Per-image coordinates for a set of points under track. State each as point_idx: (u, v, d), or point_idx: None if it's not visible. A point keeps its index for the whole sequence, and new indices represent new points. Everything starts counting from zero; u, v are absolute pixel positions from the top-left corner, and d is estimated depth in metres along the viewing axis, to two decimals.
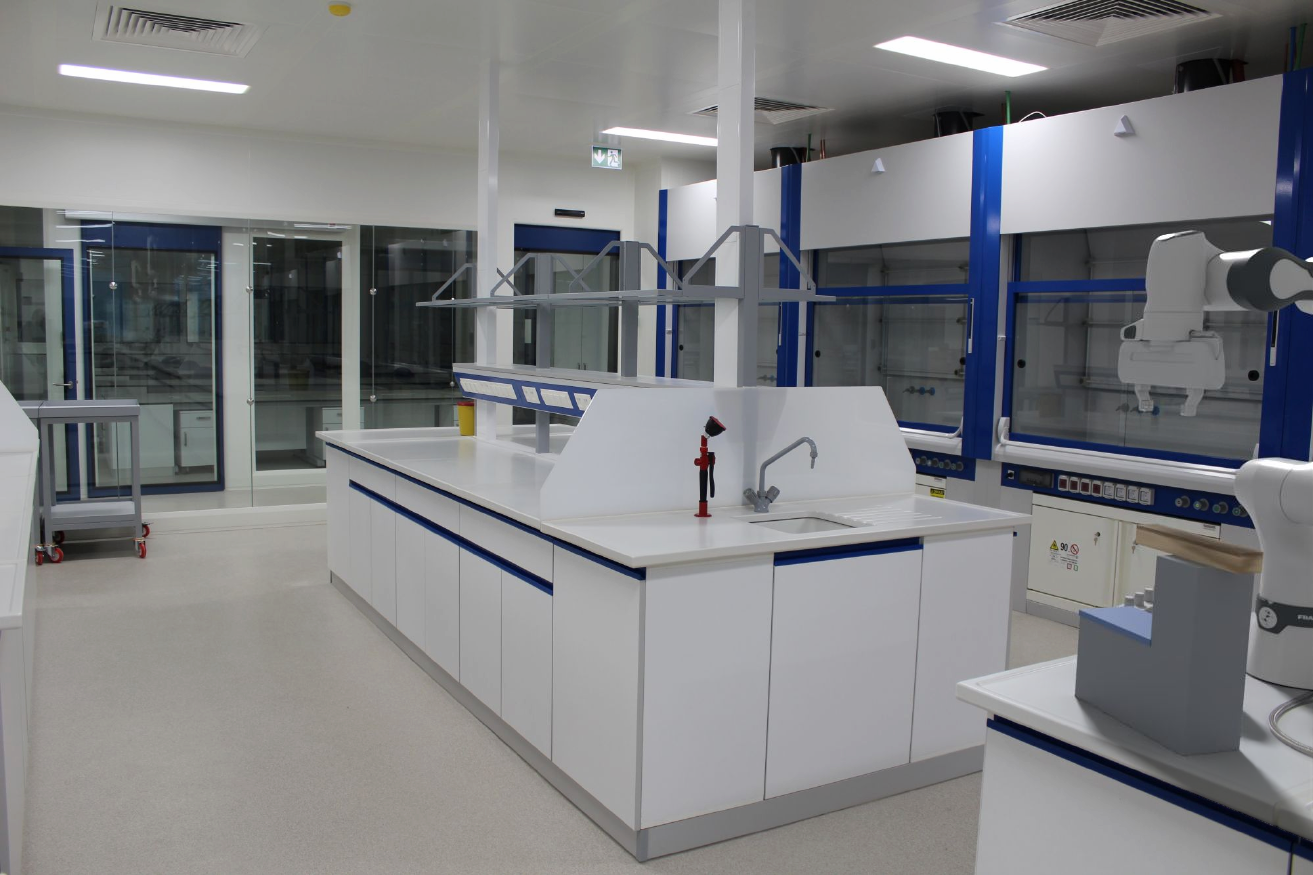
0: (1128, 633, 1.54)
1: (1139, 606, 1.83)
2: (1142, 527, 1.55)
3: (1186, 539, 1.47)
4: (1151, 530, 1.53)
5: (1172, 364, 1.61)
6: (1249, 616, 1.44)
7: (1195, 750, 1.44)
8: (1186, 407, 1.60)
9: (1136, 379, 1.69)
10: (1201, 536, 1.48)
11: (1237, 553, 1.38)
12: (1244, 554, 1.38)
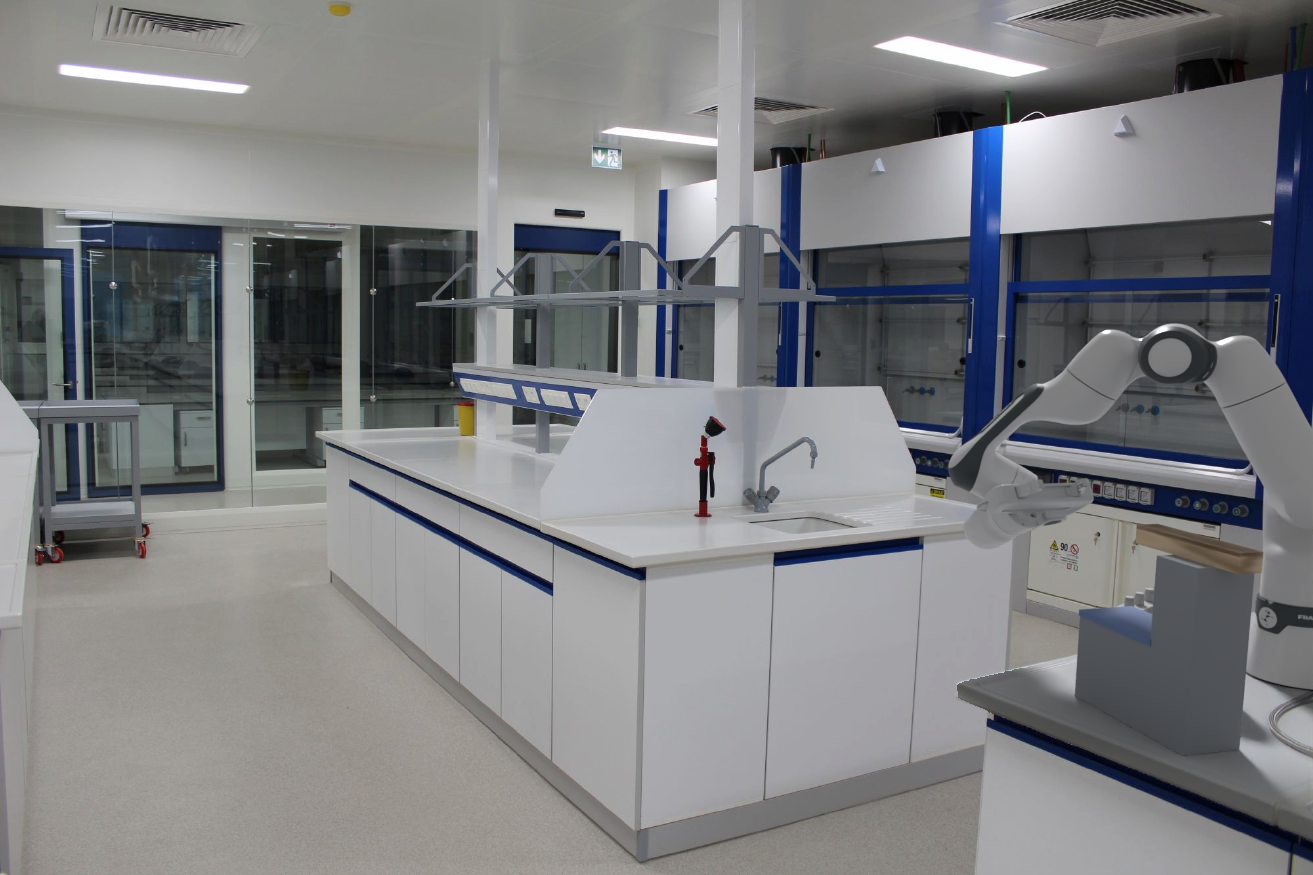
0: (1128, 633, 1.54)
1: (1139, 606, 1.83)
2: (1142, 527, 1.55)
3: (1186, 539, 1.47)
4: (1151, 530, 1.53)
5: (1026, 507, 1.83)
6: (1249, 616, 1.44)
7: (1195, 750, 1.44)
8: (1034, 491, 1.76)
9: (1073, 501, 1.82)
10: (1201, 536, 1.48)
11: (1237, 553, 1.38)
12: (1244, 554, 1.38)
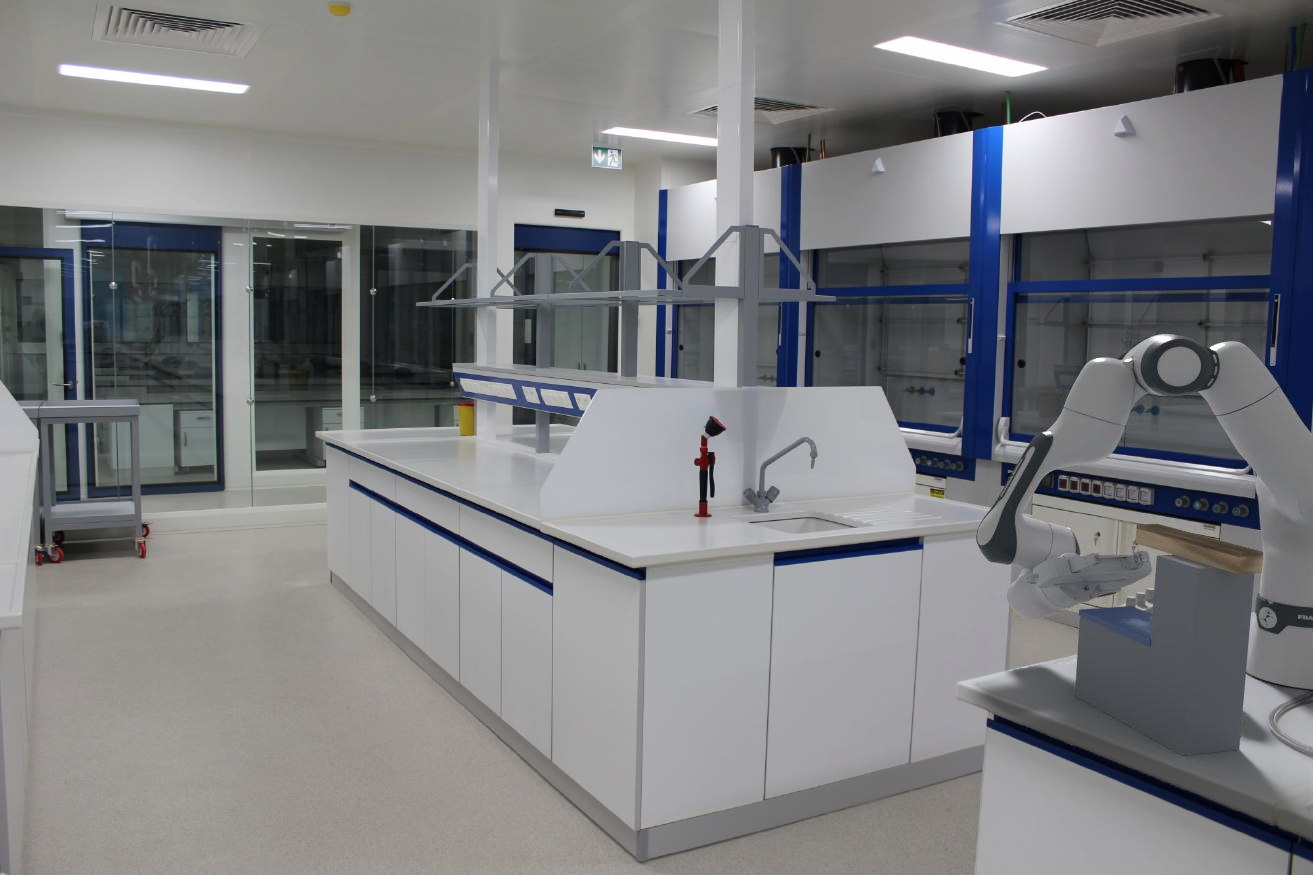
0: (1128, 633, 1.54)
1: (1141, 606, 1.83)
2: (1142, 527, 1.55)
3: (1186, 539, 1.47)
4: (1151, 530, 1.53)
5: (1080, 581, 1.69)
6: (1249, 616, 1.44)
7: (1195, 750, 1.44)
8: (1090, 565, 1.62)
9: (1130, 574, 1.68)
10: (1201, 536, 1.48)
11: (1237, 553, 1.38)
12: (1244, 554, 1.38)
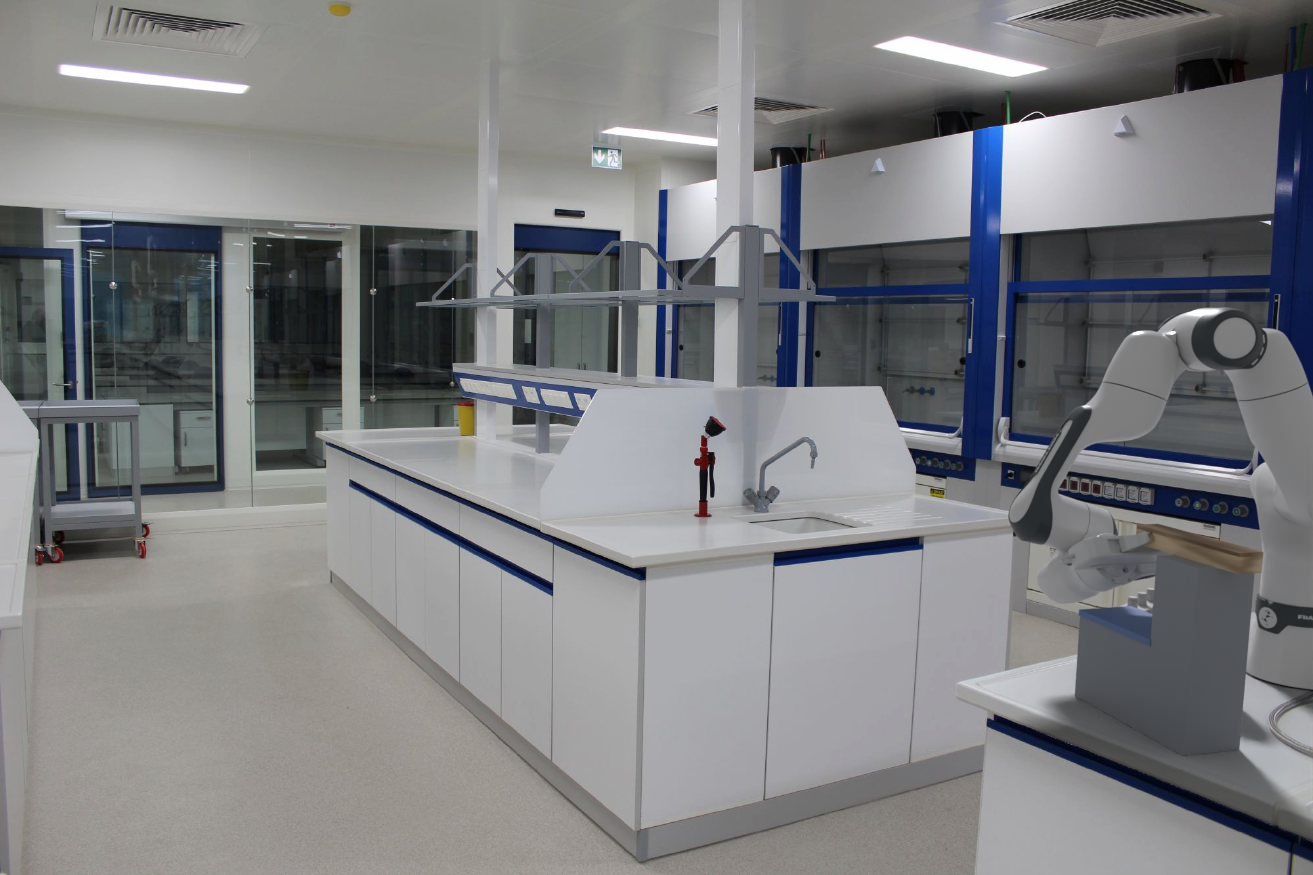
0: (1128, 633, 1.54)
1: (1142, 606, 1.83)
2: (1142, 527, 1.55)
3: (1186, 539, 1.47)
4: (1151, 530, 1.53)
5: (1119, 562, 1.59)
6: (1249, 616, 1.44)
7: (1195, 750, 1.44)
8: (1142, 544, 1.54)
9: None
10: (1201, 536, 1.48)
11: (1237, 553, 1.38)
12: (1244, 554, 1.38)
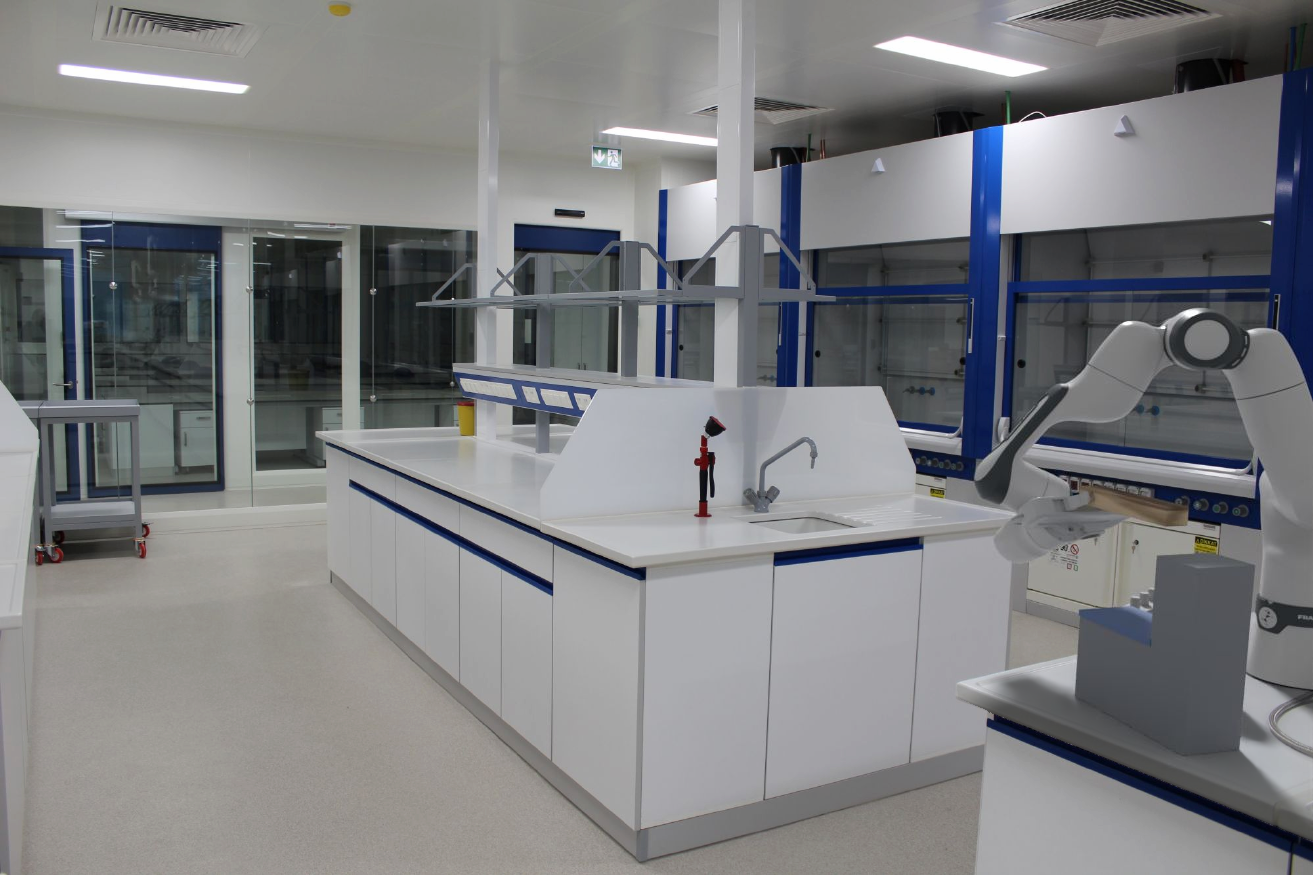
0: (1128, 633, 1.54)
1: (1144, 606, 1.83)
2: (1084, 488, 1.68)
3: (1121, 497, 1.60)
4: (1092, 490, 1.66)
5: (1064, 521, 1.72)
6: (1249, 616, 1.44)
7: (1195, 750, 1.44)
8: (1084, 503, 1.67)
9: (1113, 514, 1.72)
10: (1136, 494, 1.61)
11: (1164, 507, 1.51)
12: (1170, 508, 1.50)
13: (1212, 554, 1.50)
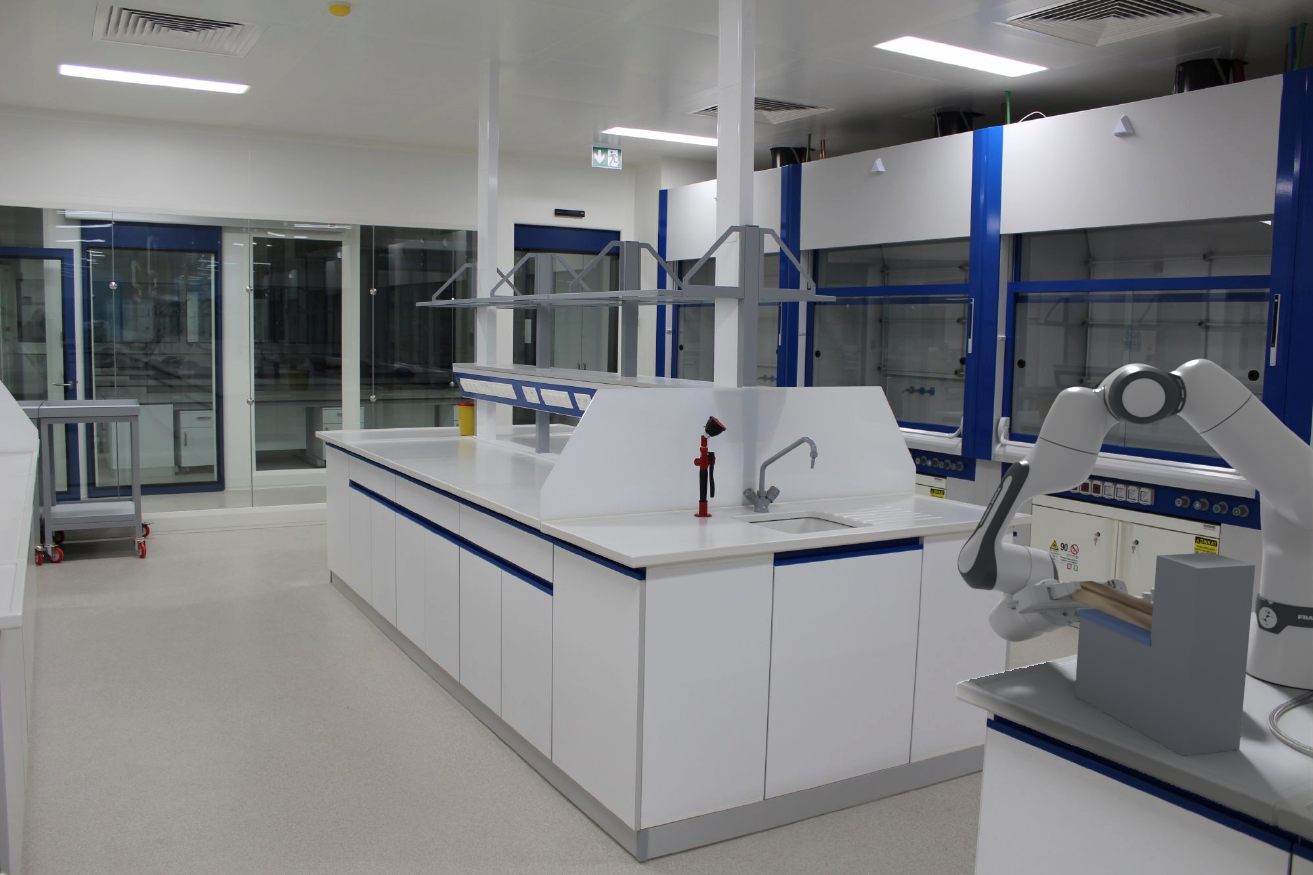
0: (1128, 633, 1.54)
1: None
2: None
3: (1114, 598, 1.62)
4: (1085, 588, 1.68)
5: (1058, 607, 1.74)
6: (1249, 616, 1.44)
7: (1195, 750, 1.44)
8: (1070, 593, 1.68)
9: None
10: (1128, 595, 1.63)
11: None
12: None
13: (1212, 554, 1.50)
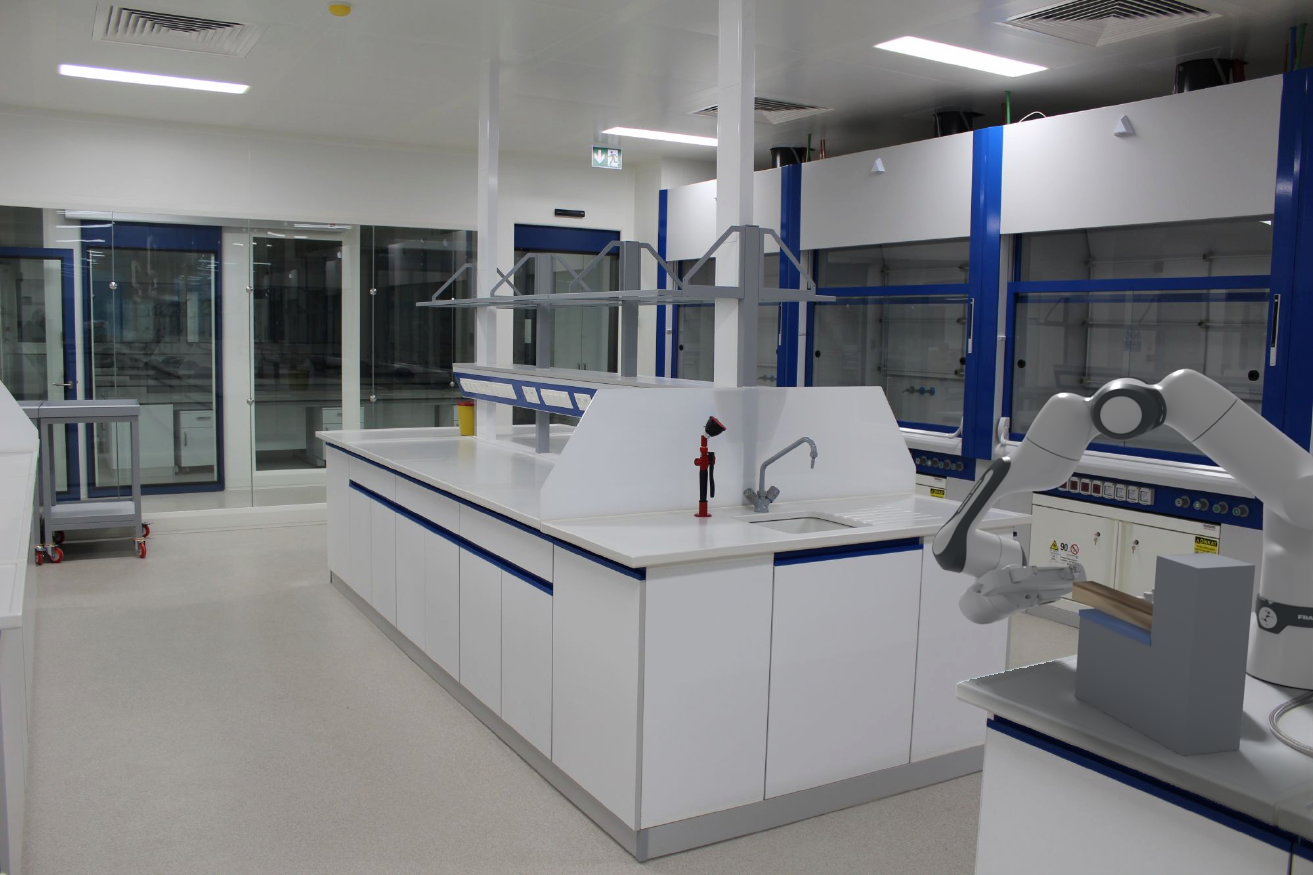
0: (1128, 633, 1.54)
1: None
2: (1077, 584, 1.70)
3: (1114, 598, 1.62)
4: (1085, 588, 1.68)
5: (1021, 590, 1.85)
6: (1249, 616, 1.44)
7: (1195, 750, 1.44)
8: (1028, 576, 1.78)
9: (1066, 584, 1.84)
10: (1128, 595, 1.63)
11: None
12: None
13: (1212, 554, 1.50)
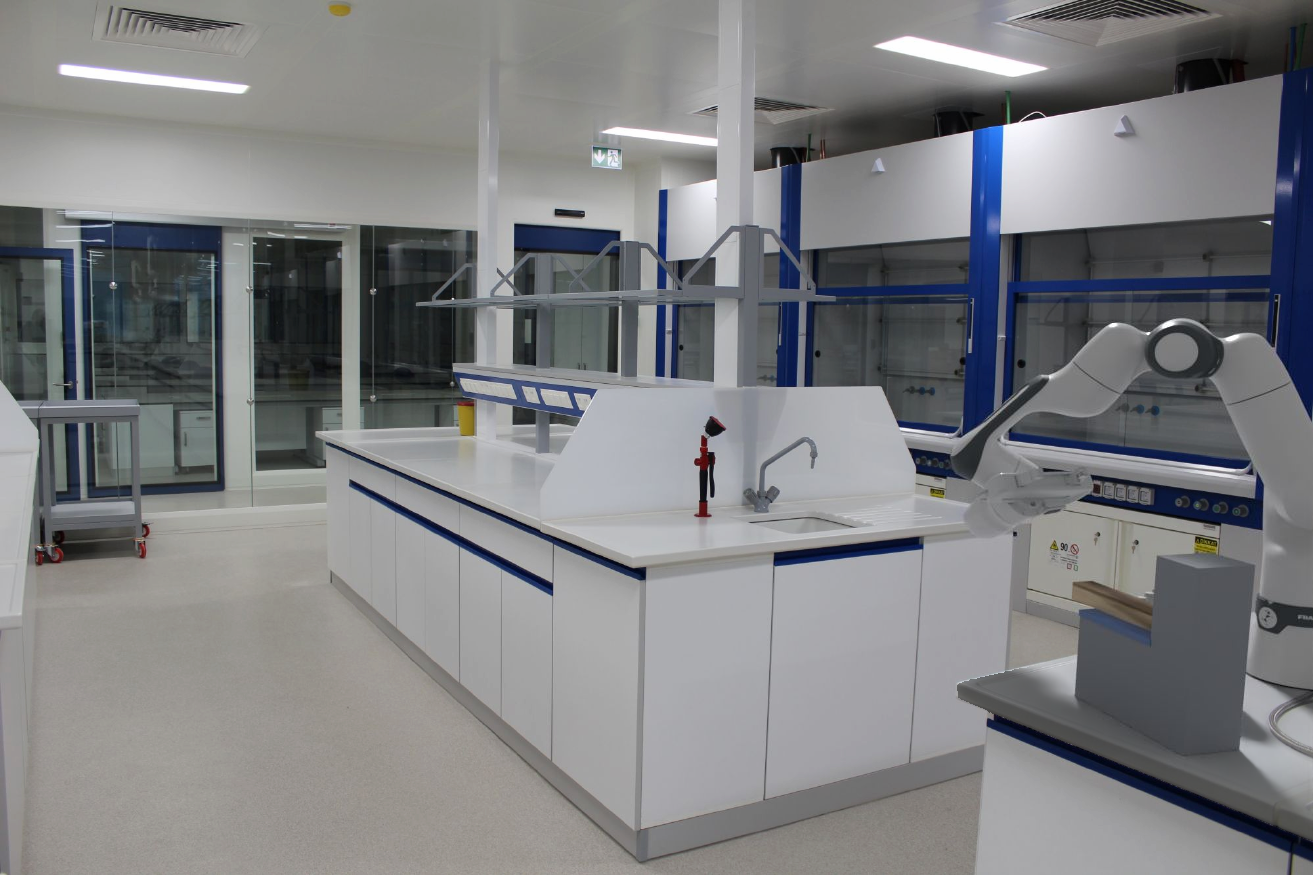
0: (1128, 633, 1.54)
1: None
2: (1077, 584, 1.70)
3: (1114, 598, 1.62)
4: (1085, 588, 1.68)
5: (1026, 496, 1.83)
6: (1249, 616, 1.44)
7: (1195, 750, 1.44)
8: (1034, 479, 1.76)
9: (1072, 490, 1.82)
10: (1128, 595, 1.63)
11: None
12: None
13: (1212, 554, 1.50)
